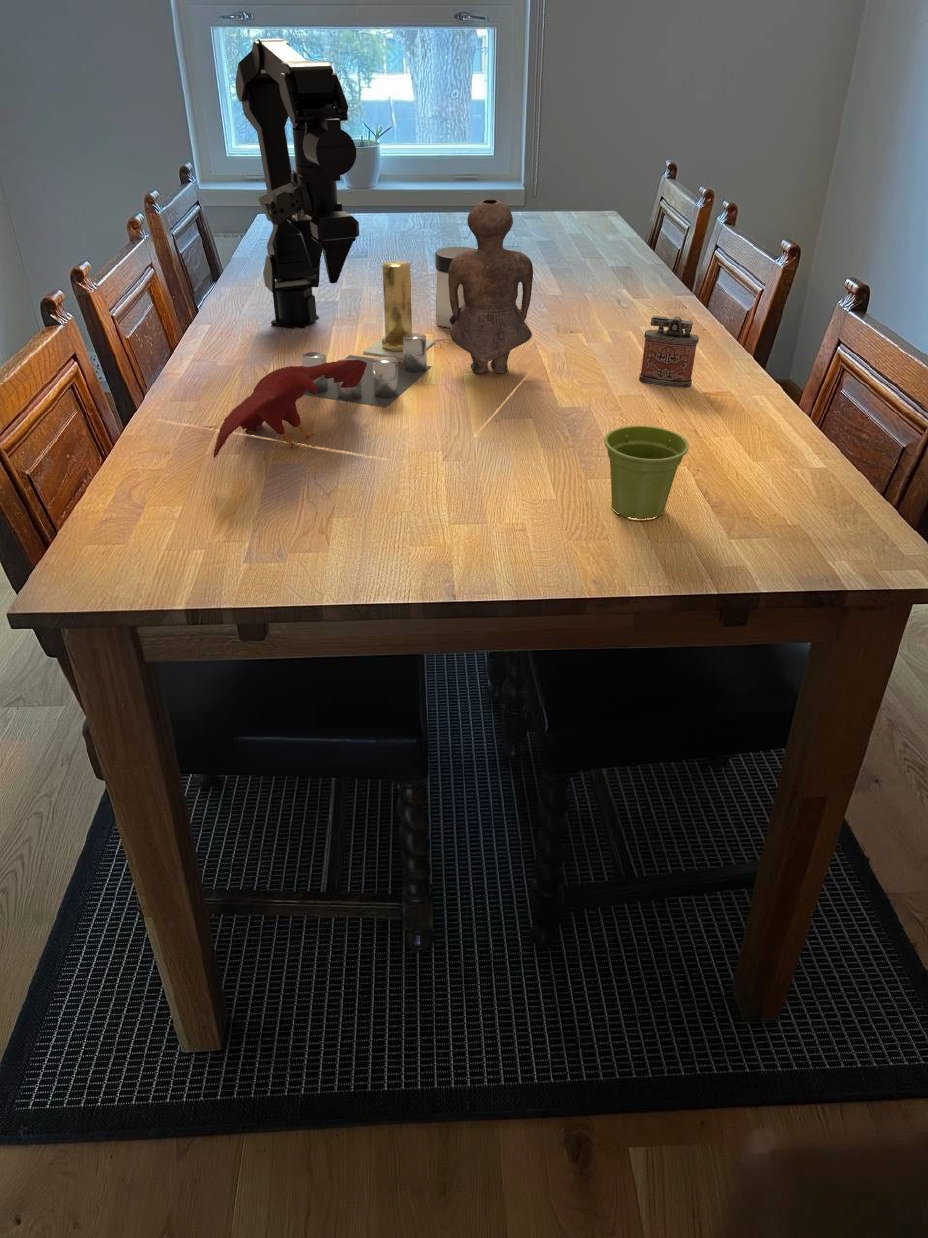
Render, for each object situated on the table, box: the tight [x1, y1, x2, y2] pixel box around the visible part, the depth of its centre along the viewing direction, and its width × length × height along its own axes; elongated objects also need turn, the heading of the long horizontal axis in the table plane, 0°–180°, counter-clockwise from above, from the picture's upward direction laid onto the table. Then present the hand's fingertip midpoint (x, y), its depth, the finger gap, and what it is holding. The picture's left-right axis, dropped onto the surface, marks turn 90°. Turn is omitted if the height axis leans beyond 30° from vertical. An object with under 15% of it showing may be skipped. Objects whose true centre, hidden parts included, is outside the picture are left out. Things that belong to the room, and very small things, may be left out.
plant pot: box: [603, 425, 690, 519], centre depth 105 cm, size 9×9×9 cm
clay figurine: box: [448, 198, 534, 374], centre depth 138 cm, size 13×10×25 cm
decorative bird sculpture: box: [213, 359, 367, 459], centre depth 120 cm, size 28×9×15 cm
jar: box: [434, 246, 478, 329], centre depth 161 cm, size 9×8×12 cm
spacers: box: [300, 332, 428, 402], centre depth 139 cm, size 14×18×5 cm
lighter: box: [638, 315, 700, 389], centre depth 138 cm, size 8×3×10 cm, turn 71°
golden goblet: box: [382, 260, 413, 352], centre depth 148 cm, size 6×6×13 cm
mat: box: [303, 354, 433, 408], centre depth 140 cm, size 14×18×1 cm
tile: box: [362, 335, 435, 360], centre depth 152 cm, size 9×9×1 cm
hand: (323, 275), depth 141 cm, fingers open, 9 cm apart
